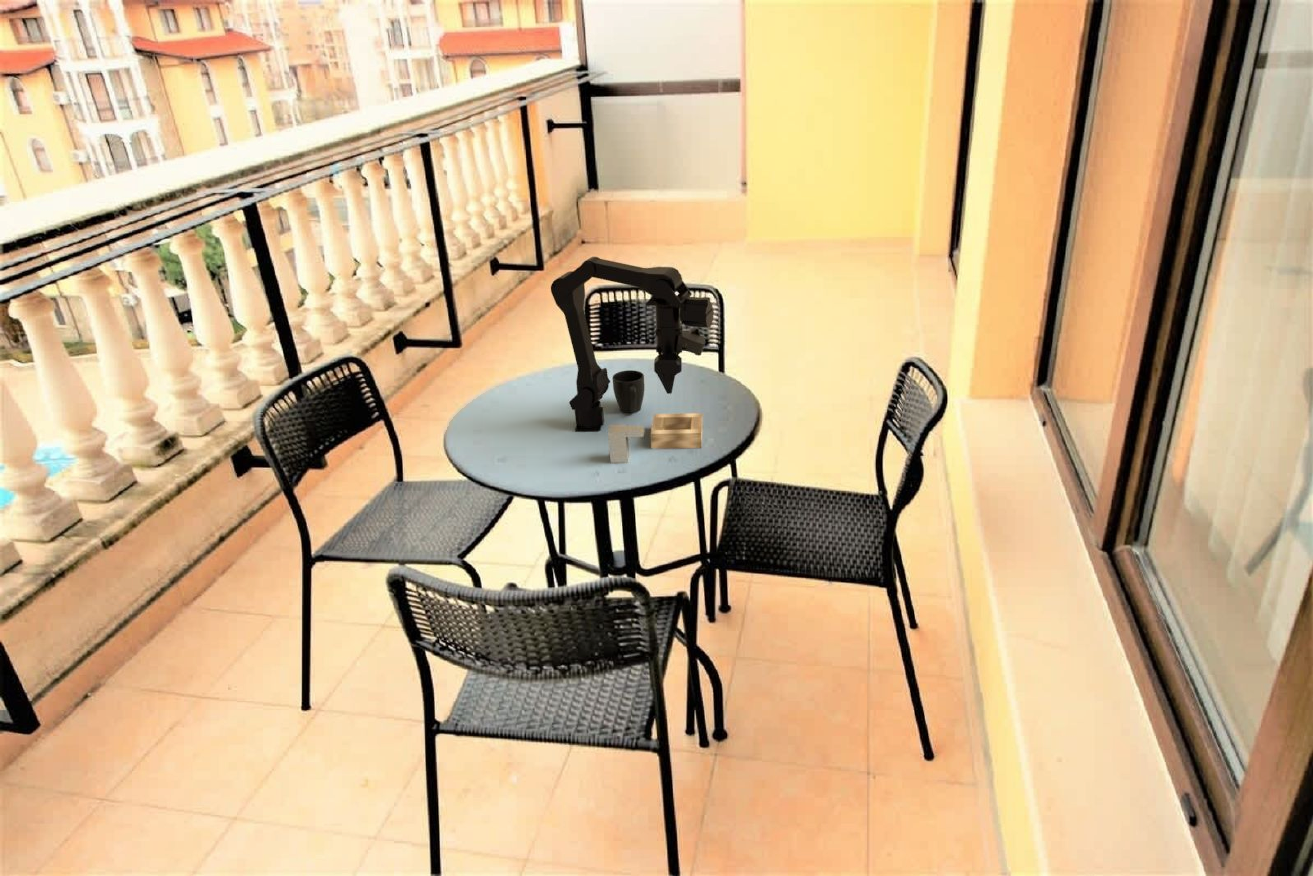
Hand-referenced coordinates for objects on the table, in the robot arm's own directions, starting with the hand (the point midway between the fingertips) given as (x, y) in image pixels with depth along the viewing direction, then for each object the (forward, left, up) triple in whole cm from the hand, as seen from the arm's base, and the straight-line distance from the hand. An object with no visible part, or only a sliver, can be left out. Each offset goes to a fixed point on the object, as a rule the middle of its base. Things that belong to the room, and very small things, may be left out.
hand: (670, 385), depth 201 cm
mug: (-12, +14, -14) cm, 23 cm away
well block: (+1, -1, -14) cm, 14 cm away
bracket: (-10, -12, -13) cm, 20 cm away
